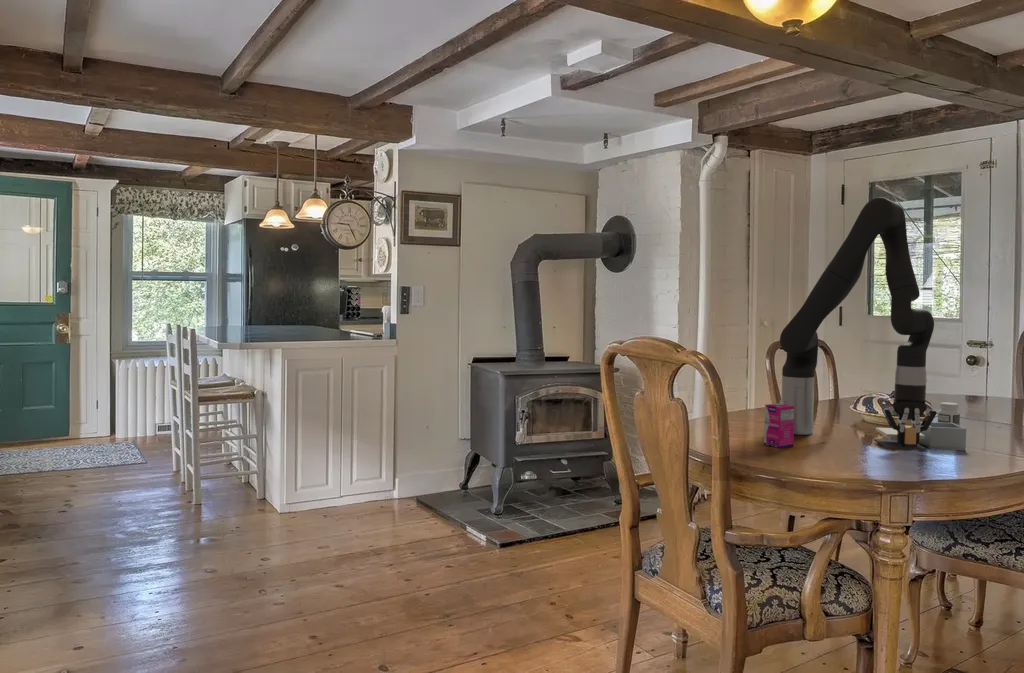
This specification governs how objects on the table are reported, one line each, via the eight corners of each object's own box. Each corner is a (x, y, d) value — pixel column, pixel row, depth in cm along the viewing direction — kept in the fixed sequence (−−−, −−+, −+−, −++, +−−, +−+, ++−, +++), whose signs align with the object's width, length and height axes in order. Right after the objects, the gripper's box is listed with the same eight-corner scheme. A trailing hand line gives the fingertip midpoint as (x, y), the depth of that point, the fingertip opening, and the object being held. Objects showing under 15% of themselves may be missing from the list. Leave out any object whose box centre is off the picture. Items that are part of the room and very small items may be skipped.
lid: (875, 434, 222) (876, 418, 222) (911, 435, 221) (912, 419, 220) (891, 444, 208) (892, 427, 208) (930, 445, 207) (930, 428, 207)
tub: (929, 448, 211) (930, 427, 211) (918, 442, 220) (919, 421, 220) (965, 450, 210) (966, 428, 209) (952, 443, 219) (953, 422, 218)
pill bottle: (953, 434, 233) (954, 402, 232) (962, 438, 227) (964, 404, 227) (933, 434, 233) (935, 401, 233) (942, 437, 228) (943, 404, 227)
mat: (887, 448, 212) (887, 446, 212) (873, 440, 223) (874, 438, 223) (926, 449, 210) (926, 448, 210) (910, 441, 222) (910, 440, 222)
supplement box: (762, 444, 215) (764, 404, 215) (778, 442, 218) (779, 402, 218) (778, 448, 210) (780, 407, 210) (794, 446, 213) (795, 405, 212)
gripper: (932, 381, 211) (930, 443, 212) (878, 380, 213) (876, 441, 214) (943, 384, 204) (940, 449, 205) (887, 383, 206) (885, 447, 207)
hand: (907, 445), depth 210 cm, fingers closed on lid, 2 cm apart
